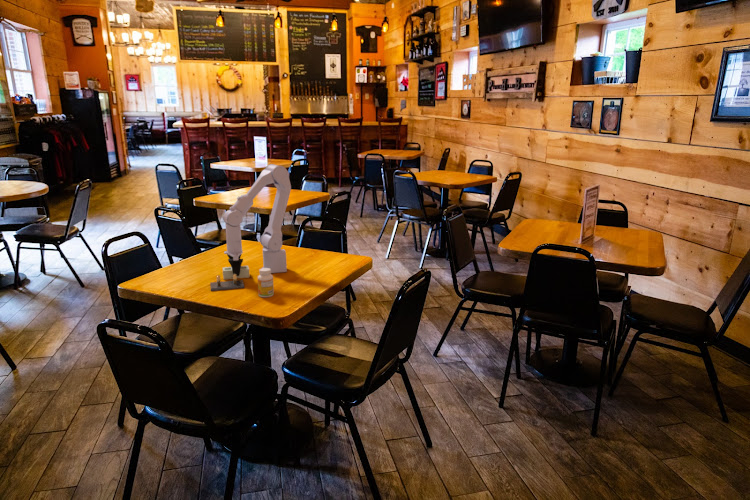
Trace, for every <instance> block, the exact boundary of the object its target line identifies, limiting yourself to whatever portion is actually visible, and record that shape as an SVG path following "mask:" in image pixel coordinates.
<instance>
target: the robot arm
mask: <svg viewBox="0 0 750 500" xmlns="http://www.w3.org/2000/svg"><path fill="white" fill-rule="evenodd" d="M271 184H273V185H274V187H275V189H276V193H275V197H274V201H273V205H272V209H271V212H270V217H269V221H268V226H266V227H265V229H264V232H263V233H262V235H261V236H260V239H259V241H260V245H262V259H263V260H262V261H263V262H262V263H263V266H262V267H261V269H262V268H270V269H271V273H270V274H276V273H287V272H288V270H287V269H288V268H287V265H288V264H287V252H286V250H285V249H284V248H283V249H281V248H282V247H283V232H282V226H283V223H284V217H285V214H286V209H287V206H288V202H289V198H290V194H291V190H292V185H291V181H290V172H289V171H288V170H287V168H286V167H285V166H283V165H277V164H274V163H271V164H270V163H269V164H267V166H265V168H264V169H263V170H261V172H260V174H259V176H258V177H257V179H256V180H255V181H254V182H253V184H252V185H251V187H250V188H249V190H248V191H247V192H246V193H245V194H241V195H240V196H238V195H237V198H236V201H235V202H234V204H233V205H232V206H230V207H229V209H228V210H226V211H225V212H224V214H223V216H222V221H223V222H224V223H225V238H226V251H224V252H223V253H224V254H225V255H226V256H227V257H228V259H227V261H228V263H229V265H230V267H232V271H233V274H236V276H239V275H240V268H241V266H242V264H243V262H244V259H243V258H241V257H242V254H243V246H242V243H243V242H242V229H241V224H242V223H243V219H244V217H245V215H246V213H247V212H249V210H250V209H251V207H252V206H253V205H254V199H255V198H256V196H258V194H259V193H261V191H262V190H263V189H264V188H265V187H266V186H267V185H271Z"/></svg>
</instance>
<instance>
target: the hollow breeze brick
mask: <svg viewBox="0 0 750 500" xmlns="http://www.w3.org/2000/svg"><path fill="white" fill-rule="evenodd" d="M222 276H223V280H233V271H232V267H231V266H228V267H227V266H225V267H222ZM245 278H246V279H247V278H250V267H249V265H241V268H240V275H239V276H237V279H245Z"/></svg>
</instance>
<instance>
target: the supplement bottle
mask: <svg viewBox="0 0 750 500" xmlns="http://www.w3.org/2000/svg"><path fill="white" fill-rule="evenodd" d="M258 271H259V272H258V273H259V275H257V290H258V291H257V292H258V296H259V297H261V298H271V297H273V296H274V293H275V291H274V290H275V289H274V276H273V274H272V273H271V269H270V268H262V267H261V268H259V269H258Z"/></svg>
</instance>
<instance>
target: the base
mask: <svg viewBox="0 0 750 500" xmlns="http://www.w3.org/2000/svg"><path fill="white" fill-rule="evenodd" d="M236 289H237V290H238V289H245V284H244V280H243V279H240V280H239V279H238V278H237V276H236V274H233V279H232V280H227V281H226V280H224V281H221V275H219V274H218V275H216V282H210V291H211V292H215V291H223V290H224V291H225V290H236Z"/></svg>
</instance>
